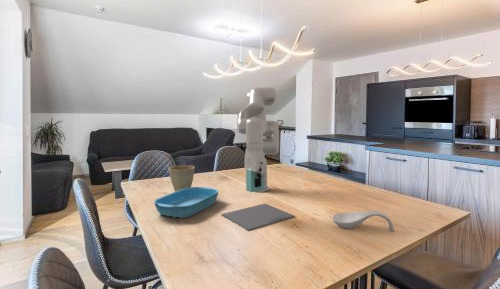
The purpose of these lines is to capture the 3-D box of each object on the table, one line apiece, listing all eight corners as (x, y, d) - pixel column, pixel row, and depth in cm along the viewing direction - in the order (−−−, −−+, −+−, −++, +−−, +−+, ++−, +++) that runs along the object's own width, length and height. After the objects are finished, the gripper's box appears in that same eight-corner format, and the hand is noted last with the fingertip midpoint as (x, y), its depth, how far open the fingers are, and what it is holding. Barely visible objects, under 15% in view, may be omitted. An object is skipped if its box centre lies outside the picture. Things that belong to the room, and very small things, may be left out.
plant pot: (164, 196, 165) (163, 169, 163) (177, 189, 179) (176, 164, 178) (188, 198, 162) (187, 170, 160) (199, 191, 176) (198, 165, 174)
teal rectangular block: (246, 190, 132) (246, 168, 131) (258, 188, 136) (258, 166, 135) (251, 192, 129) (251, 170, 128) (263, 189, 133) (263, 168, 132)
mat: (221, 215, 134) (221, 214, 134) (265, 204, 149) (265, 203, 149) (248, 231, 116) (248, 229, 116) (294, 217, 131) (294, 215, 131)
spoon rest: (332, 230, 117) (332, 213, 116) (332, 219, 128) (332, 204, 127) (395, 236, 110) (396, 218, 110) (390, 224, 122) (390, 208, 121)
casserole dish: (191, 196, 167) (191, 184, 166) (225, 200, 158) (225, 187, 157) (145, 218, 133) (144, 203, 132) (184, 225, 124) (184, 209, 123)
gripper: (237, 145, 135) (238, 183, 137) (258, 148, 122) (259, 190, 124) (250, 144, 140) (251, 181, 142) (272, 147, 126) (272, 188, 128)
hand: (254, 185), depth 133 cm, fingers closed on teal rectangular block, 4 cm apart
